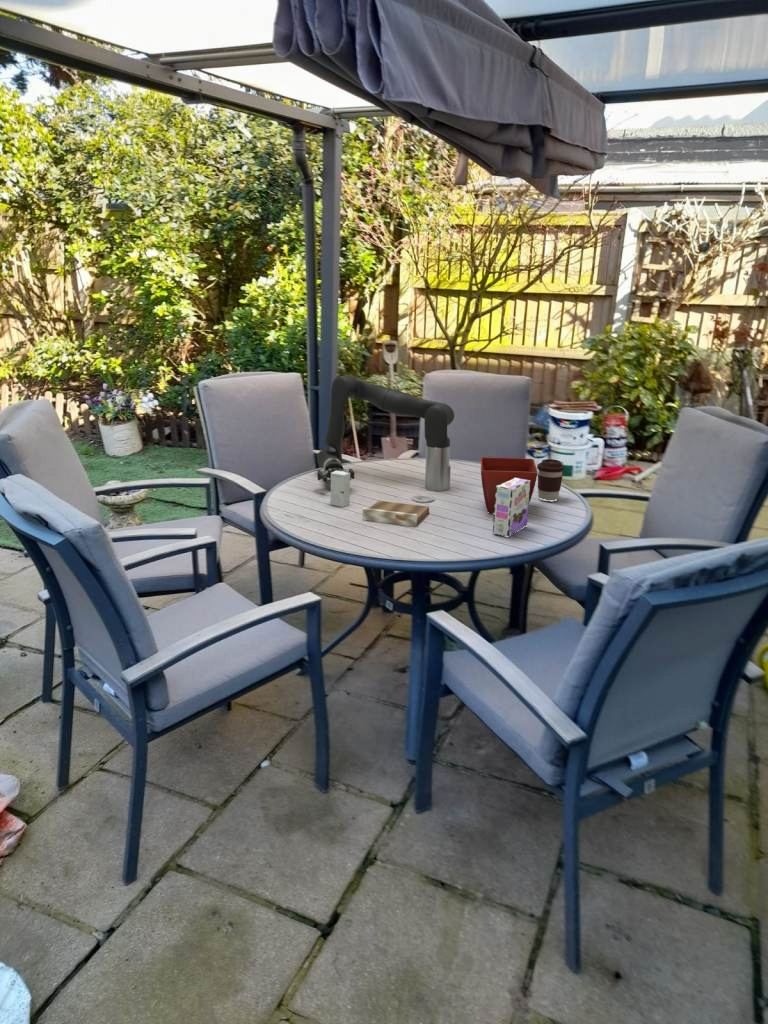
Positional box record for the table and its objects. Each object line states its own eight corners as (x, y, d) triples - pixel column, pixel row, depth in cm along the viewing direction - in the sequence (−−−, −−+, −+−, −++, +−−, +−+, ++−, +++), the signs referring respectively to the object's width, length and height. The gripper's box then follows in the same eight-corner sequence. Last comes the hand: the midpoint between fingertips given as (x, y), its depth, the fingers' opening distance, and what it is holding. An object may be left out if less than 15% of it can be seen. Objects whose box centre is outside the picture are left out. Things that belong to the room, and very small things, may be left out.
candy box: (508, 538, 213) (511, 488, 208) (491, 534, 216) (494, 485, 211) (527, 527, 223) (531, 479, 218) (511, 523, 227) (515, 476, 222)
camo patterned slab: (428, 513, 236) (429, 502, 235) (415, 527, 222) (415, 515, 221) (378, 507, 242) (378, 496, 241) (362, 520, 229) (362, 509, 227)
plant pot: (478, 516, 234) (480, 469, 228) (478, 500, 252) (480, 456, 246) (534, 519, 231) (538, 472, 226) (530, 502, 249) (533, 458, 244)
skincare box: (330, 504, 245) (329, 472, 241) (336, 501, 248) (336, 470, 245) (344, 507, 242) (344, 475, 238) (350, 504, 246) (350, 472, 242)
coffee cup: (564, 503, 248) (568, 464, 244) (537, 503, 248) (541, 464, 244) (557, 496, 258) (561, 458, 253) (532, 495, 258) (535, 457, 253)
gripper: (315, 460, 266) (318, 470, 251) (351, 459, 268) (356, 469, 253) (315, 478, 268) (318, 489, 253) (351, 477, 271) (356, 488, 256)
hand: (337, 479), depth 253 cm, fingers open, 8 cm apart
